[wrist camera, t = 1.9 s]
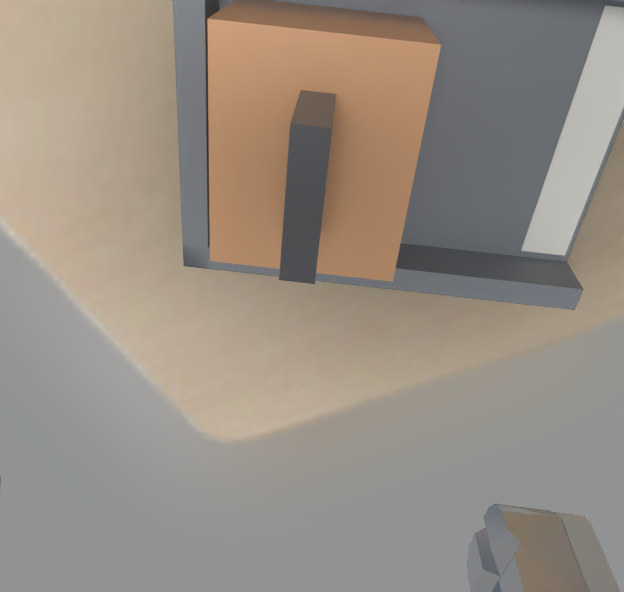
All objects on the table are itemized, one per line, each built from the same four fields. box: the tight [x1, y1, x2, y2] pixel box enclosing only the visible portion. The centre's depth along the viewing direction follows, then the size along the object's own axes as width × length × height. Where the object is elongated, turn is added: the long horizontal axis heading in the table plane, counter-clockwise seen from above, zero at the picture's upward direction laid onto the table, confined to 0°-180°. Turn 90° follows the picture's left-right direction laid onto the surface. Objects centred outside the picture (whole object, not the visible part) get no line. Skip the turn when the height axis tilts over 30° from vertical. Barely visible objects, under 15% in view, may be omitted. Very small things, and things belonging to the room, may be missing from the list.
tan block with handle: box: [207, 0, 441, 284], centre depth 29 cm, size 10×12×13 cm
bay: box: [173, 0, 624, 310], centre depth 33 cm, size 26×19×4 cm
